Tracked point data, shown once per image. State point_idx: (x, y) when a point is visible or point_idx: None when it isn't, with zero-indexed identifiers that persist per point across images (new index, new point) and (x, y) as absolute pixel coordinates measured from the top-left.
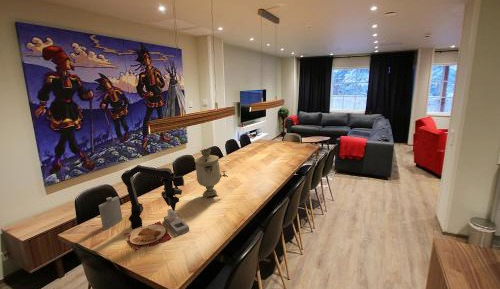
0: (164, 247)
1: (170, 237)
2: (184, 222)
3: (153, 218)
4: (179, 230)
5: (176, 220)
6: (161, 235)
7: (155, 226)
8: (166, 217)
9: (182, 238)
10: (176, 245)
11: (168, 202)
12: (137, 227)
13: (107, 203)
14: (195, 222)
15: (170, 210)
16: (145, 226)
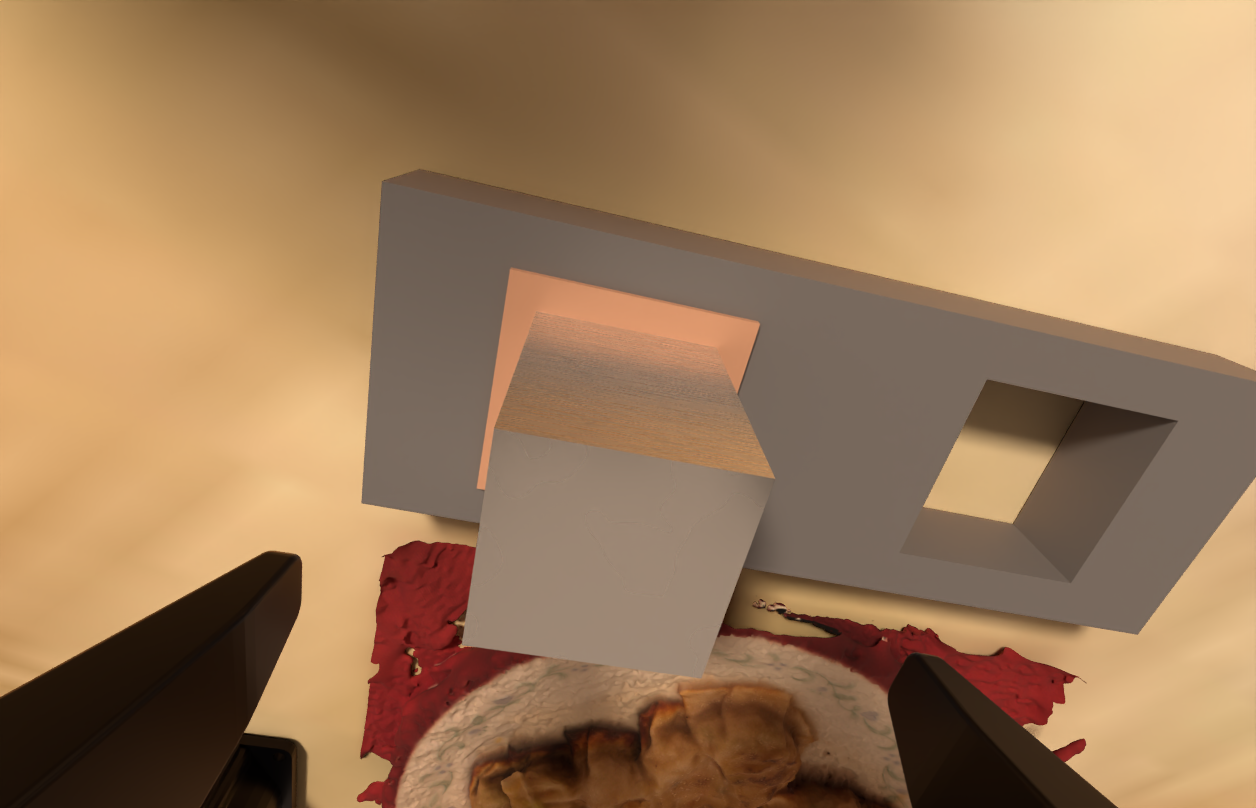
0: (1101, 782)
1: (1033, 667)
2: (1080, 348)
3: (107, 524)
4: (1166, 577)
5: (801, 411)
6: (882, 738)
7: (539, 687)
8: (440, 476)
9: (1231, 564)
10: (1244, 691)
11: (165, 769)
12: (292, 799)
13: None
14: (1153, 8)
15: (604, 603)
16: (404, 774)
